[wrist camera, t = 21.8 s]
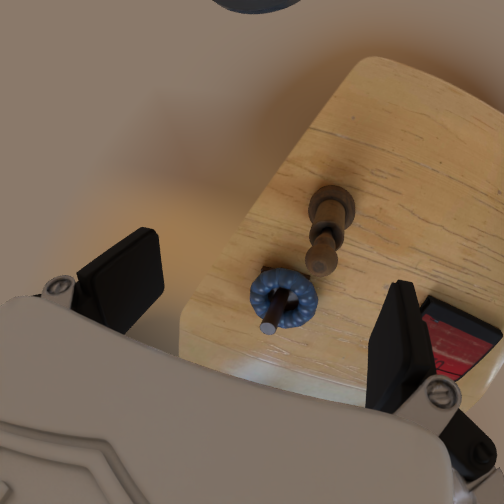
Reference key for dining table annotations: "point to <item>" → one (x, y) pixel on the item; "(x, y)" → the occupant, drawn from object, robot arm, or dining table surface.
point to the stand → (278, 306)
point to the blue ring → (288, 281)
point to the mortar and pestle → (328, 228)
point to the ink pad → (457, 338)
